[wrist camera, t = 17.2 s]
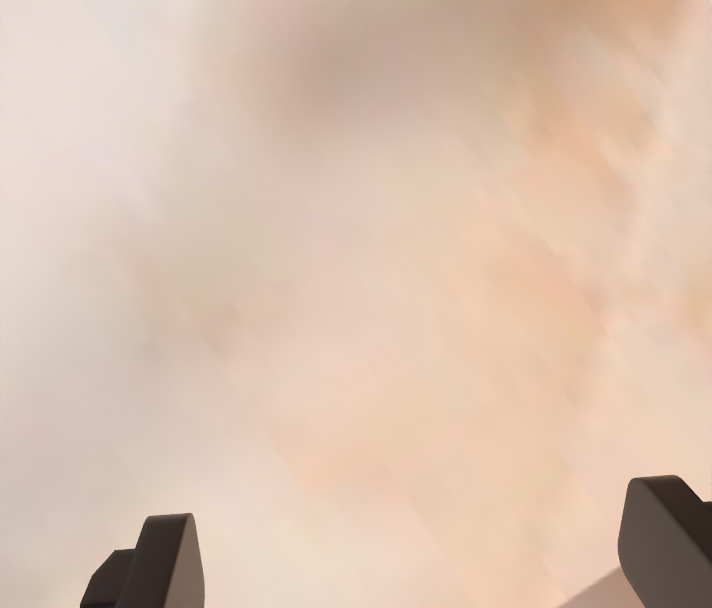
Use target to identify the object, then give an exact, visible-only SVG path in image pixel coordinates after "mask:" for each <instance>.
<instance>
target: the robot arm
mask: <svg viewBox="0 0 712 608" xmlns="http://www.w3.org/2000/svg"><path fill="white" fill-rule="evenodd" d="M618 554H619V559H620V563H621V567H622V569H623V572H624V574H625V576H626V578H627V579H628V581H629V583H630V584H631V586H632V587H633V589H634V590H635V592H636V594H637V595H638V597H639V598H640V600H641V601H642V603H643V605H644V606H645V608H712V502H711V501H710V502H703V501H702V500H701V499H700V498H699V497H698V496H697V495H696V494H695V493H694V492H693V490H692V489H691V488H690V487H689V486H688V485H687V484H686V483H685V482H684V481H683V480H682V479H681V478H680V477H678V476H676V475H665V476H652V477H639V478H633V479H632V480H631V481H630V482H629V485H628V488H627V493H626V499H625V505H624V510H623V516H622V521H621V527H620V532H619V538H618ZM204 600H205V586H204V575H203V569H202V562H201V556H200V550H199V544H198V537H197V531H196V525H195V520H194V516H193V514H192V513H184V514H171V515H158V516H149V517H147V519H146V520H145V522H144V525H143V528H142V531H141V533H140V536H139V539H138V542H137V545H136V548H135V549H125V550H115V551H114V552H113V553H112V554H111V555H110V556H109V557H108V559H107V560H106V561H105V562H104V563H103V564H102V565H101V566H100V567H99V569H98V570H97V571H96V572H95V573H94V574H93V575H92V577H91V579H90V582H89V584H88V587H87V589H86V591H85V594H84V596H83V598H82V601H81V603H80V608H204Z"/></svg>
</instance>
